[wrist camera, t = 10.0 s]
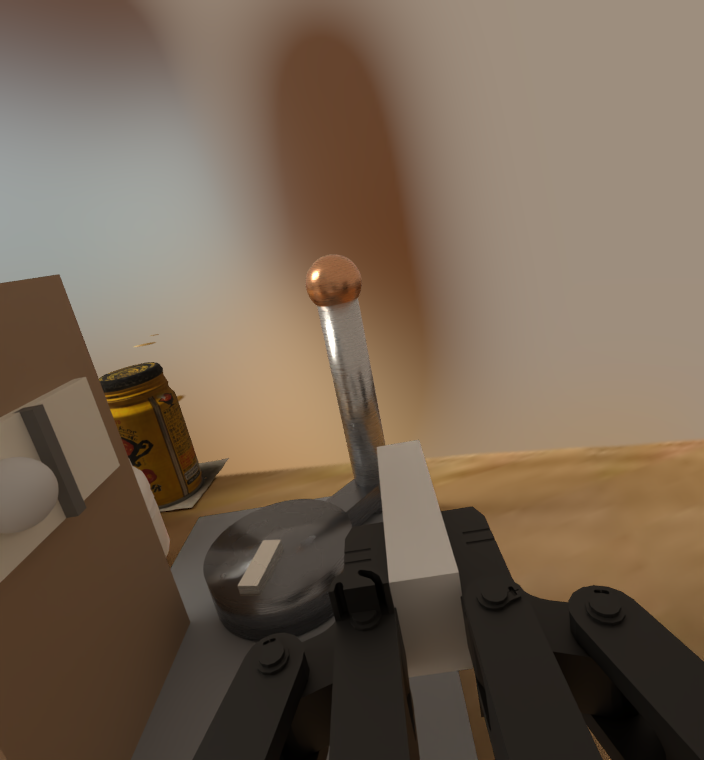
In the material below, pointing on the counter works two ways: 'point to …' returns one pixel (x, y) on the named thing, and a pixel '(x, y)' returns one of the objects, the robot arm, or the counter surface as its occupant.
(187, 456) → the condiment
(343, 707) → the robot arm
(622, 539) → the counter surface
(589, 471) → the counter surface
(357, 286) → the ball top joystick
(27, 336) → the stand
